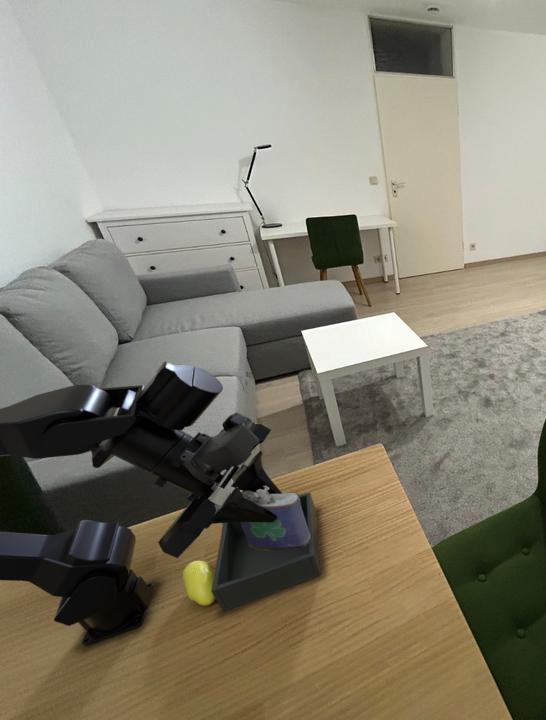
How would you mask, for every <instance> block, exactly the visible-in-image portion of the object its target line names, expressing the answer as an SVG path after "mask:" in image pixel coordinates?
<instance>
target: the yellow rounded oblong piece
mask: <svg viewBox="0 0 546 720" xmlns="http://www.w3.org/2000/svg"><path fill="white" fill-rule="evenodd" d="M214 573H215V568H213V567H212V565H211V564H210V563H208V562H207V561H205V560H194V561H191V562H190V563H188V564H187V565H186V567H184V569H183V572H182V581H183V584H184V587H185V591H186V595H187V597H188V598H189V599H190V600H191V601H193V602H196V603H197V604H199V605H201V606H204V607H205V606H209V605H212V604H213V603H214V602H215V601H217V600H216V598H215V597H214V595H213V593H212V592H211V590H212V585H213V579H214Z"/></svg>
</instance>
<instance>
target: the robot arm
mask: <svg viewBox="0 0 546 720" xmlns="http://www.w3.org/2000/svg"><path fill="white" fill-rule="evenodd" d="M223 389H224V386H223V384H222V383H221V381H220V380H219V379H218V378H217V377H216V376H214V374H212V373H210V372H209V371H207V370H205V369H203V368H201V367H199V366H198V365H197V366H192V365H189V364H174V363H172V362H169V361H164V362H162V364H161V365H160V366H159V367H158V369H157V371H156V372H155V375H154V376H153V377H152V378H151V379H150V380H149V382H147V384H146V385H142V384H141V385H128V386H113V387H102V388H101V387H99V388H98V387H96V385H91V384H75V385H70V386H65V387H62V388H58V389H54V390H51V391H47V392H43V393H39V394H36V395H33V396H31V397H28V398H26V399H23V400H20V401H18V402H15V403H14V404H11V405H8V406H5V407H2V408H0V457H4V456H15V457H22V458H27V459H33V460H37V459H38V460H39V459H48V458H59V457H69V456H77V455H83V454H86V453H89V452H91V464H92V467H93V468H94V469H99V468H101V467H102V466H103V465H105V464H107V462H109V461H110V460H111V459H113V458H114V457H115V458H118V459H120V460H122V461H124V462H126V463H128V464H130V465H132V466H134V467H136V468H138V469H140V470H143V471H144V472H147V473H148V474H151V475H152V476H153V477H156V478H157V479H156V480H155V482H153V484H154V485H156V486H159V487H160V488H163V487H164V486H166V484H167V483H169V484H171V485H173V486H175V487H177V488H179V489H181V490H183V491H185V492H187V493H189V495H188V497H187V498H186V500H187V501H190V503H189V504H188V505H187V506H186V507H185V508H184V509H183V510H182V512H181V513H180V514H179V515H178V516H177V517H176V519H174V520H173V522H172V524H171V525H170V526H169V527H168V529H166V531H165V532H164V534H163V535H162V537H161V538H160V539H159V540H158V541H157V543H158V545H159V546H160V549H161V551H162V553H164V554H165V555H168V556H171V557H173V558H176V559H179V557H180V556H182V554H183V553H184V552H185V551H186V550H187V549H188V548H189V547H191V545H192V544H193V543H194V542H195V541H196V540H197V539H198V538H199V537H200V535H201V534H202V533H203V532H204V530H205V529H206V530H208V529H209V528H210V527H211V525H215V524H217V525H218V524H223V523H229V522H274V521H275V520H276V519H277V516H276V515H275V514H273V513H272V512H270V511H269V510H267V509H265V508H263V507H261V506H259V505H257V504H255V503H254V502H252V501H250V500H248V499H246V498H244V497H243V495H242V493H241V492H242V491H252V492H255V493H257V492H256V490H259V489H261V490H264V489H265V487H263V486H265V485H266V486H267V487H269V490H268V492H269V494H283V493H282V491H281V490H280V489H279V487H278V486H277V484H275V482H273V480H272V479H271V478H270V477H269V476H268V474H267V472H266V470H265V469H264V467H263V462H262V456H263V454H264V453H263V451H262V450H259V451H258V452H257V453H256V454H254V453H252V452H253V451H254V450H255V449H256V447H258V446H259V444H261V445H262V444H263V443H264V442H265V440H266V438H267V437H268V436H269V434H270V432H271V431H272V429H271V428H268V427H267V426H265V425H264V424H262V423H255V421H253V420H252V419H251V418H249V417H248V416H245V415H243V414H242V413H240V412H238V411H237V412H234V413H232V414H230V415H228V416H227V417H226V419H225V420H224V421H223V422H222V424H221V425H222V428H223V429H221V430H220V432H219V433H217V434H216V435H214V436H210V435H209V434H207V433H205V432H200V431H198V433H197V434H195V435H194V436H192V435H190V434H189V433H186V432H185V431H183V430H185V428H189V427H192V426H193V425H195V424H196V422H197V421H198V420H199V418H200V417H201V416H202V415H203V414H204V413H205V411H206V410H207V409H208V408H209V407H210V406H211V404H212V403H213V402H214V401H215V400H216V399H217V398H218V396H219V395H220V394H221V393H222V392H223ZM117 410H118V411H117ZM116 412H117V414H116ZM115 414H116V415H115ZM223 471H224V472H223ZM222 472H223V473H222ZM231 480H233V482H232V483H231V485H230V487H231V488H234V489H233V490H232V491H229V490H227V489H226V487H227V486H228V484H229V483H230V481H231ZM136 542H137V537H136V535H135V534H134V532H133V531H132V529H131V528H129V527H127V526H121V525H120V521H114V522H101V521H96V520H92V519H83V520H82V519H81V520H79V521H78V523H77V526H76V528H74V529H71V530H67V531H64V532H61V533H57V534H37V533H27V532H26V533H24V532H11V531H0V581H8V582H9V581H10V582H11V581H12V582H13V581H14V582H29V583H30V584H32V585H34V586H35V587H36V588H39V589H40V590H43V591H44V592H46V593H47V594H49V595H51V596H53V597H59V598H61V599H60V601H59V604H58V607H57V609H56V612H55V615H54V618H53V621H54V622H56V623H58V624H62V625H65V626H68V627H70V626H72V625H75V624H77V623H78V624H79V625H80V626H81V627H82V628H83V629H84V631H85V634H84V636H83V639H82V641H81V644H82V646H84V647H87V646H88V647H89V646H90V645H93V644H96V643H98V642H101V641H104V640H107V639H110V638H112V637H114V636H119V635H121V634H125V633H126V632H129V631H132V630H134V629H138V628H140V627H141V626H142V624H143V622H144V619H145V616H146V613H147V610H148V609H149V606H150V603H151V601H152V597H153V590H154V584H153V583H151V582H150V583H147V582H146V581H145V579H144V578H143V577H142V576H141V575H140V576H137V575H136V573H135V572H134V570H133V569H132V568H131V566H132V561H133V557H134V553H135V547H136Z"/></svg>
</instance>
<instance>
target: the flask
mask: <svg viewBox="0 0 546 720" xmlns="http://www.w3.org/2000/svg"><path fill="white" fill-rule="evenodd" d="M263 487H265V489H264V490H261V489H259V490H256V492H257V493H255V492H252V491H242V490H241V491H240V492H241V493H242V495H243V497H244V498H246V499H248V500H250V501H252V502H254V503H255V504H257V505H259V506H261V507H263V508H265V509H267V510H269V511H270V512H272V513H273V514H275V515H276V516H277V519H276V520H275V521H274V522H241V525H242V528H243V531H244V533H245V536H246V538H247V542H248V545H249V546H250V547H253V548H256V549H261V550H262V549H263V550H286V549H297V548H301V547H304V546H306V545H307V544H308V543H309V542H308V541H309V540H310V533H309V530H308V527H307V524H306V520H305V517H304V514H303V511H302V507H301V503H300V499H299V494H298V492H297V493H296V492H284V493H282V494H269V492H268V490H269V487H267V486H266V485H265V486H263Z"/></svg>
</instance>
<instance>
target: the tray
mask: <svg viewBox="0 0 546 720" xmlns="http://www.w3.org/2000/svg"><path fill="white" fill-rule="evenodd" d="M298 496H299V499H300V503H301V507H302V511H303V514H304V517H305V520H306V524H307V527H308V530H309V533H310V540H309V541H308V542H309V543H308V544H307V545H306V546H304V547H301V548H297V549H286V550H263V549H262V550H261V549H256V548H253V547H250V546H249V545H248V542H247V538H246V536H245V533H244V531H243V528H242V525H241V522H229V523H222V529H221V534H220V540H219V545H218V551H217V556H216V561H215V562H216V563H215V568H214V570H215V573H214V579H213V585H212V590H211V592H212V593H213V595H214V597H215V598H216V600H215V601H216V602H217V603H218V605H219V608H221V610H222V612H227V611H230V610H232V609H235V608H237V607H241V606H243V605H246V604H249V603H252V602H254V601H257V600H259V599H262V598H264V597H267V596H270V595H272V594H276V593H278V592H281V591H284V590H286V589H288V588H291V587H295V586H296V585H299V584H302V583H305V582H307V581H308V582H309V581H310V580H313V579H315V578H318V577H320V576H322V572H321V560H320V559H321V557H320V547H319V546H320V545H319V534H318V531H319V530H318V520H317V510H316V506H315V504H314V501H313V497H312V494H311V492H306V493H303V494H298Z"/></svg>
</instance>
